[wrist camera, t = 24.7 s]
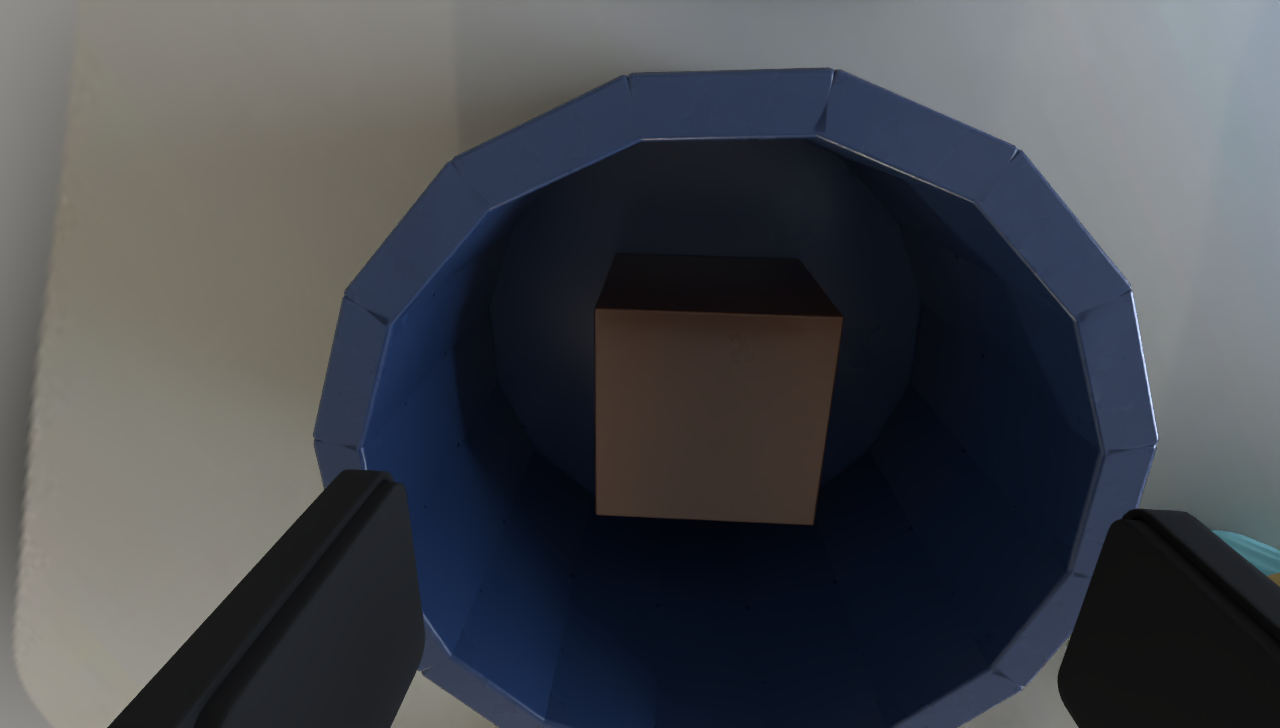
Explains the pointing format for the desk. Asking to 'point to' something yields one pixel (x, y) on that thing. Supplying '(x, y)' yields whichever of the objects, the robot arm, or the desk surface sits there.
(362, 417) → the blue bowl
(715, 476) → the block
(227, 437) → the desk surface
